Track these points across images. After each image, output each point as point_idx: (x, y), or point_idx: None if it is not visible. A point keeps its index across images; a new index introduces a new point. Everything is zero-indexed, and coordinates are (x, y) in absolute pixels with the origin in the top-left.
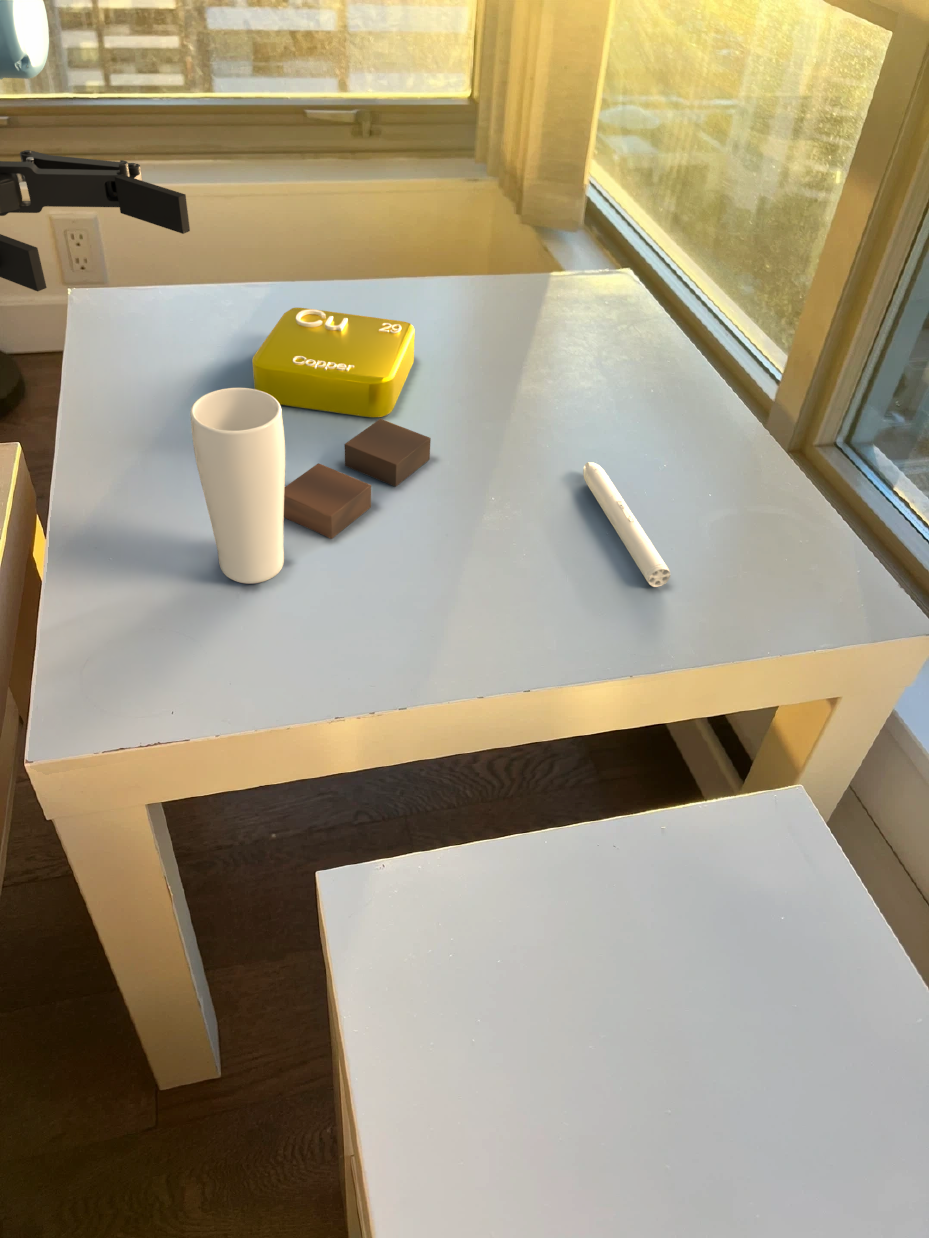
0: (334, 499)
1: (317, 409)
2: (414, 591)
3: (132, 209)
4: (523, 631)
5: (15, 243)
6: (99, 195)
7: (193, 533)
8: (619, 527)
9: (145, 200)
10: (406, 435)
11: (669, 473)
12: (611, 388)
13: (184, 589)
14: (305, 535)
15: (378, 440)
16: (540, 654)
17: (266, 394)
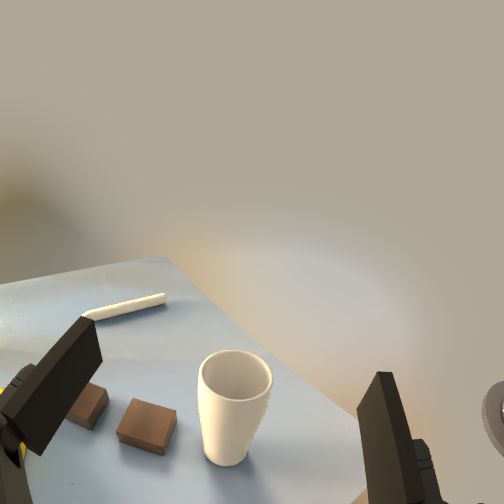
0: (156, 413)
1: (24, 453)
2: None
3: (49, 425)
4: (212, 334)
5: (393, 396)
6: (17, 478)
7: (209, 497)
8: (134, 307)
9: (58, 385)
10: None
11: (78, 298)
12: (5, 313)
13: (266, 473)
14: (178, 435)
15: (78, 401)
16: (223, 328)
17: (204, 364)
